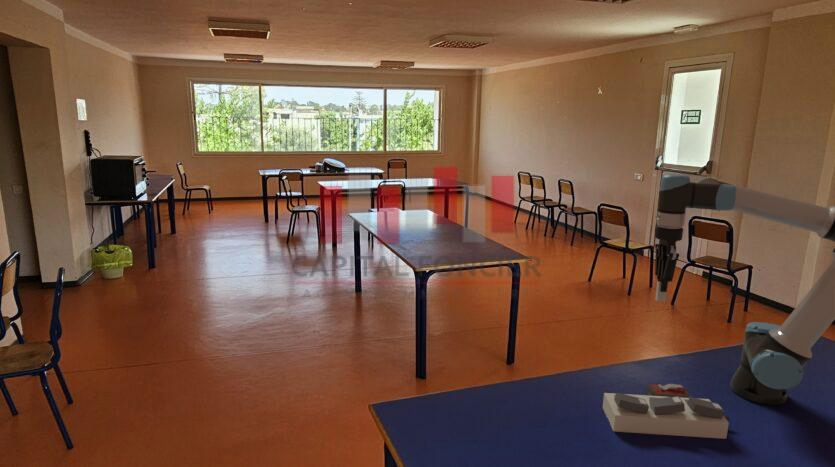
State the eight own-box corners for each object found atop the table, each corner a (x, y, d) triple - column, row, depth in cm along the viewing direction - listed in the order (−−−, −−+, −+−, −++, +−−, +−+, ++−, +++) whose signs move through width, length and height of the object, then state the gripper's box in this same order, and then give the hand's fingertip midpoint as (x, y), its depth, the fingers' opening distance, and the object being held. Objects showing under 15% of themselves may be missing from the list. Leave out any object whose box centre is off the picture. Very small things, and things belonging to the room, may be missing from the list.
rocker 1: (641, 406, 147) (644, 398, 147) (646, 414, 143) (649, 406, 143) (614, 399, 148) (616, 391, 147) (618, 407, 144) (620, 399, 143)
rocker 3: (715, 411, 145) (718, 403, 145) (721, 419, 142) (725, 410, 141) (686, 404, 146) (690, 396, 145) (692, 411, 142) (696, 403, 141)
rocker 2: (679, 403, 146) (678, 395, 145) (685, 411, 142) (684, 402, 142) (650, 407, 147) (649, 398, 147) (654, 414, 143) (653, 406, 143)
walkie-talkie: (650, 405, 158) (718, 410, 156) (651, 392, 157) (720, 397, 155) (641, 391, 166) (706, 395, 164) (642, 378, 165) (708, 382, 163)
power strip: (717, 415, 152) (719, 399, 151) (737, 439, 141) (740, 422, 140) (602, 407, 156) (604, 392, 154) (613, 431, 144) (615, 414, 143)
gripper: (649, 221, 161) (641, 293, 166) (664, 230, 149) (655, 307, 154) (674, 222, 161) (665, 294, 166) (691, 231, 148) (681, 308, 153)
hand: (660, 300), depth 160 cm, fingers closed
